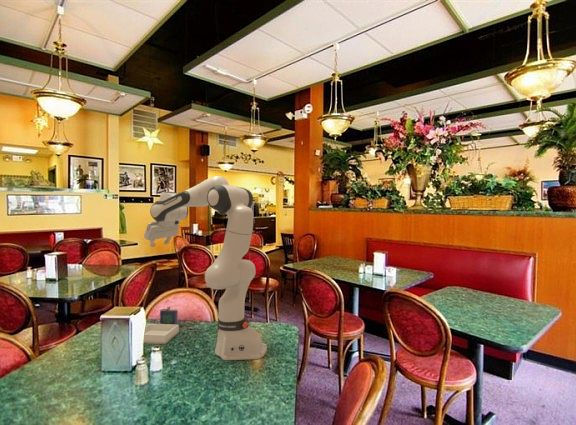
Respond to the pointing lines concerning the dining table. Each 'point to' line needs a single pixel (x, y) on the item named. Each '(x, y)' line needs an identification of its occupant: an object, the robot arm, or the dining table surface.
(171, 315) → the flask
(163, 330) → the tub
